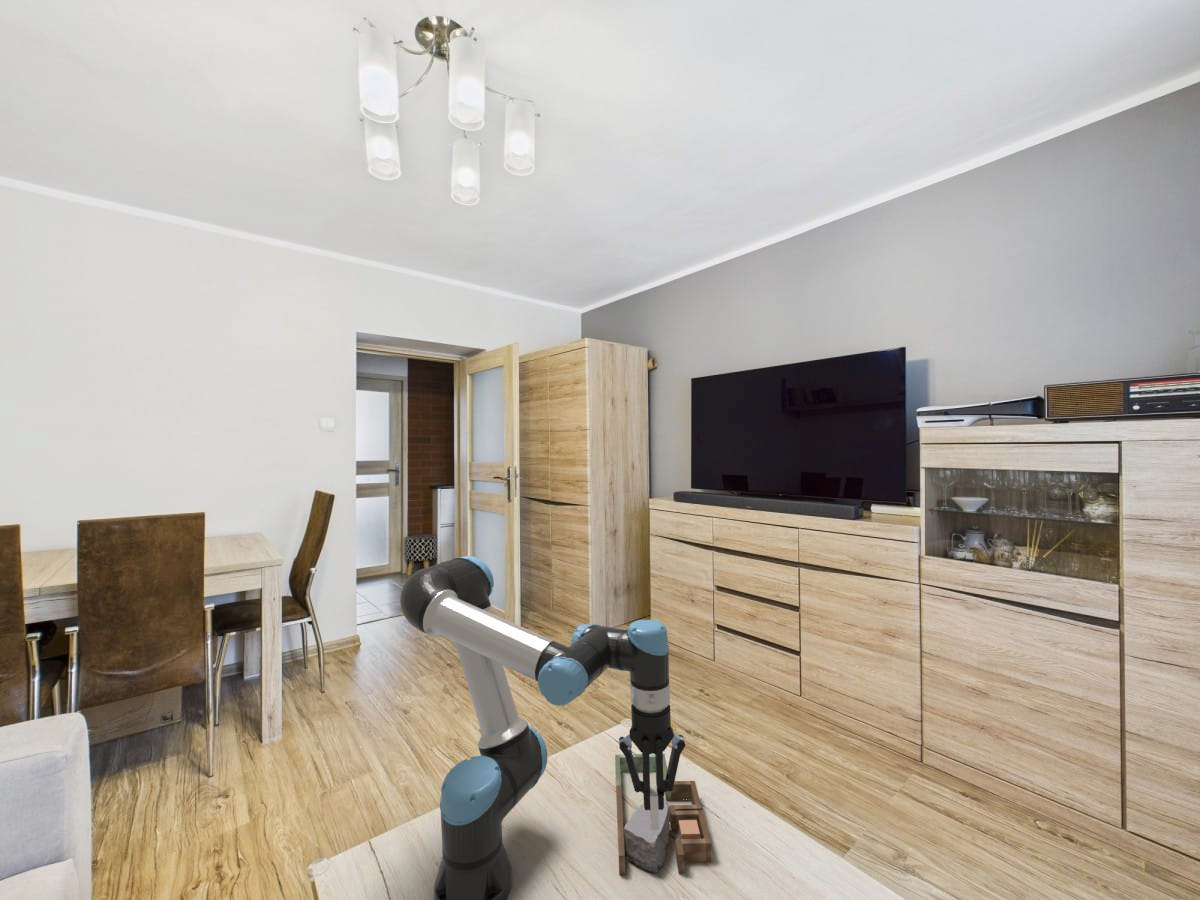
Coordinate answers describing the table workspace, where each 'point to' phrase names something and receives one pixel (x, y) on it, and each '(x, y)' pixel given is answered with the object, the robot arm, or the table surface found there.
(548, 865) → the table surface
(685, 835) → the cube
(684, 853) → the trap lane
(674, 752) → the robot arm
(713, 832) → the table surface
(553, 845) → the table surface
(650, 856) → the decorative stone
